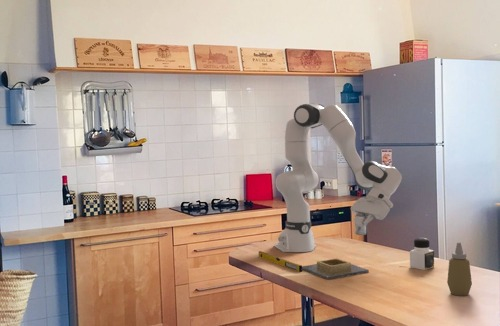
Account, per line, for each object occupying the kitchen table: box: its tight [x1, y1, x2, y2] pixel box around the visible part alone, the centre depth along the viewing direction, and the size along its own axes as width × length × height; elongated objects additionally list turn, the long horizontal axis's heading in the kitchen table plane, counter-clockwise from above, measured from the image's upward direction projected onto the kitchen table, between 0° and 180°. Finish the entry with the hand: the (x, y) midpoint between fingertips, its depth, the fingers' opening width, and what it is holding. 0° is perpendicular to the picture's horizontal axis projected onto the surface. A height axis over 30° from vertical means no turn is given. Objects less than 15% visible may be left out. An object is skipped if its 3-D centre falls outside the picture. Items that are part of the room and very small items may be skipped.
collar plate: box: [302, 257, 369, 280], centre depth 233 cm, size 20×20×4 cm
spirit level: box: [258, 250, 303, 273], centre depth 247 cm, size 33×1×3 cm, turn 29°
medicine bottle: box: [409, 237, 435, 271], centre depth 233 cm, size 7×7×12 cm
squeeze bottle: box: [446, 242, 473, 297], centre depth 196 cm, size 8×8×18 cm
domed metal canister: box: [354, 213, 367, 236], centre depth 246 cm, size 5×5×9 cm
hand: (359, 222), depth 245 cm, fingers closed on domed metal canister, 5 cm apart
